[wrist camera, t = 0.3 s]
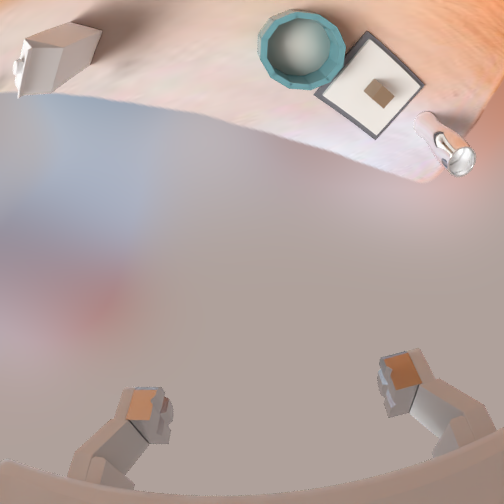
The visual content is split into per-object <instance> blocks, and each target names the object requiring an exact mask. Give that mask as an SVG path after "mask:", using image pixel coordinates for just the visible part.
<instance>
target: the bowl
mask: <svg viewBox="0 0 504 504" xmlns="http://www.w3.org/2000/svg"><path fill="white" fill-rule="evenodd" d="M345 50H346V46H345V43H344V41H343V39H342V36H341V34H340V32H339V30H338V28H337V27H336V26H335V25H333V24H332V23H331V22H329V21H328V20H326V19H325V18H323V17H322V16H321V15H319V14H316V13H312V12H307V11H298V10H287V11H285V12H282V13H280V14H277V15H275V16H273V17H270V18H269V20H268V21H267V22H266V24H265V25H264V26H263V28H262V29H261V31H260V32H259V34H258V51H257V52H258V55H259V57H260V60H261V62H262V63H263V65H264V67H265V68H266V70H267V72H268V74H269V76H270V77H271V78H272V79H274V80H276V81H277V82H279V83H281V84H282V85H284V86H286V87H287V88H289V89H303V90H312V89H315V88H317V87H319V86H322V85H324V84H327V83H329V82H331V81H332V79H333V78H334V77H335V76H336V75H337V73H338V72H339V71H340V70H341V69H342V67H343V64H344V57H345Z"/></svg>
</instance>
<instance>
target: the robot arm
mask: <svg viewBox="0 0 504 504" xmlns="http://www.w3.org/2000/svg"><path fill="white" fill-rule="evenodd" d="M379 365H380V368H381V369H380V370H379V371H378V377H377V379H378V387H379V391H380V394H381V395H382V396H384V397H385V402H384V406H385V409H386V411H387V415H388V417H389V418H390V417H394V416H398V415H402V414H406V413H410V414H411V415H412V416H413V417H414V418H415V419H416V420H418V421H419V422H420V423H421V424H422V425H424V426H425V427H426V428H427V429H428V430H430V431H431V432H432V433H433V434H435V435H436V436H437V437H438V438H440V440H439V441H438V443H437V445H436V446H435V448H434V449H433V451H432V455H433V459H430V460H427V461H424V462H421V463H418V464H415V465H413V466H409V467H406V468H403V469H400V470H396V471H392V472H389V473H385V474H382V475H378V476H374V477H370V478H366V479H362V480H357V481H353V482H349V483H343V484H338V485H333V486H327V487H321V488H315V489H308V490H301V491H293V492H285V493H273V494H261V495H239V496H198V495H177V494H164V493H154V492H145V491H136V490H134V486H135V484H134V483H133V482H132V481H131V480H130V479H128V478H127V477H126V476H125V475H126V473H127V472H128V471H129V470H130V468H131V467H132V466H133V465H134V463H135V462H136V461H137V460H138V458H139V457H140V456H141V455H142V453H143V452H144V451H145V450H146V448H147V447H148V446H149V444H169V438H170V432H171V430H170V428H169V426H168V425H169V424H170V423H171V422H172V421H173V406H172V403H171V401H170V400H169V399H168V398H166V397H165V396H164V395H165V392H164V390H163V389H162V387H125V388H124V390H123V392H122V395H121V398H120V401H119V404H118V407H117V410H116V413H115V416H114V419H110V420H109V421H108V422H107V423H106V424H105V425H104V426H103V427H102V428H100V429H99V430H98V431H97V432H96V433H95V434H94V435H93V436H92V437H91V438H90V439H89V440H87V441H86V442H85V443H84V444H83V445H82V446H81V447H80V448H79V449H77V450H76V451H75V453H74V456H73V459H72V462H71V465H70V468H69V472H68V475H67V477H65V476H61V475H58V474H54V473H51V472H47V471H44V470H41V469H37V468H34V467H31V466H28V465H25V464H22V463H20V462H17V461H14V460H11V459H4V460H2V461H0V504H504V427H503V428H501V429H499V430H496V428H495V426H494V424H493V422H492V420H491V418H490V416H489V414H488V412H487V410H486V408H485V406H484V405H483V404H482V403H480V402H478V401H477V400H475V399H473V398H472V397H470V396H468V395H466V394H465V393H463V392H461V391H460V390H458V389H456V388H454V387H453V386H451V385H449V384H448V383H446V382H444V381H443V380H441V379H435V377H434V375H433V373H432V371H431V369H430V367H429V365H428V363H427V361H426V359H425V357H424V355H423V354H422V352H421V350H420V349H419V348H416V349H413V350H409V351H404V352H400V353H396V354H393V355H389V356H385V357H381V359H380V362H379Z"/></svg>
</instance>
